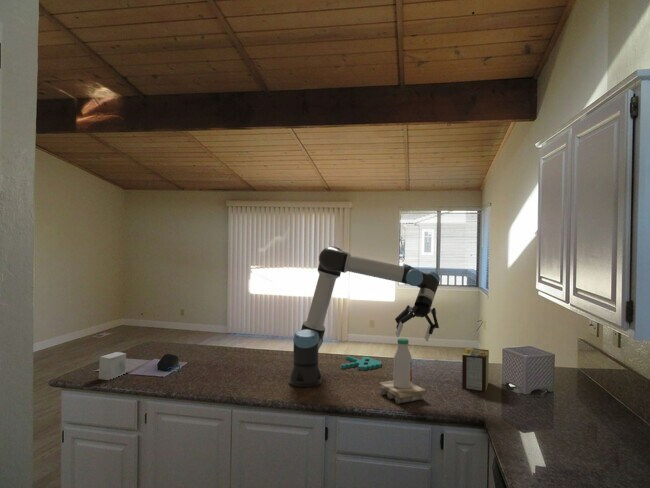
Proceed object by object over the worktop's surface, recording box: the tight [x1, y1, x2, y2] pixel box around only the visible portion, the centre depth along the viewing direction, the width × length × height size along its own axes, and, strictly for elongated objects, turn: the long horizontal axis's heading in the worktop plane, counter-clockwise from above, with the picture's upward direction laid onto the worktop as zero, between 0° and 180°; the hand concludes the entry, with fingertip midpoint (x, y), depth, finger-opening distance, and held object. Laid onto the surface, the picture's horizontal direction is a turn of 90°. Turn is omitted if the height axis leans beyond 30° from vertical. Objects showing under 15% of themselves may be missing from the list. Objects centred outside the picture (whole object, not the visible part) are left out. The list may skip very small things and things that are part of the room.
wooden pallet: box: [378, 380, 427, 405], centre depth 182 cm, size 16×13×4 cm
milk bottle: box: [392, 338, 413, 389], centre depth 182 cm, size 8×8×20 cm
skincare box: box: [98, 351, 127, 381], centre depth 204 cm, size 10×6×10 cm, turn 161°
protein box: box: [461, 347, 490, 393], centre depth 199 cm, size 10×15×16 cm
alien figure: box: [340, 355, 383, 371], centre depth 231 cm, size 20×2×20 cm
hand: (411, 337), depth 189 cm, fingers open, 13 cm apart
